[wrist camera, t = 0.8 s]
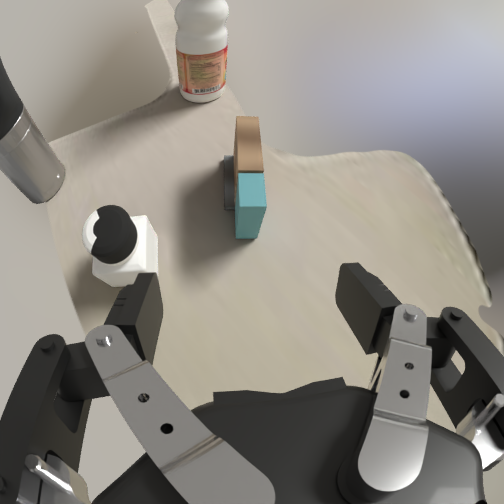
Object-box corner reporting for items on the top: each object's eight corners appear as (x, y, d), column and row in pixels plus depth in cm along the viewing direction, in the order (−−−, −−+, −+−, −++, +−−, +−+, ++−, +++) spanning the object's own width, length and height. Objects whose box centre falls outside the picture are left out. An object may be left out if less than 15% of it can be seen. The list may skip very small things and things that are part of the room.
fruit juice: (171, 93, 49) (159, -26, 23) (202, 74, 52) (203, -36, 26) (203, 110, 48) (201, -24, 22) (234, 88, 51) (246, -31, 25)
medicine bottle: (158, 236, 39) (136, 193, 27) (159, 284, 36) (132, 257, 25) (113, 240, 38) (79, 201, 27) (112, 287, 36) (72, 262, 24)
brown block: (264, 209, 42) (276, 170, 32) (224, 209, 41) (225, 170, 32) (260, 159, 45) (268, 117, 35) (224, 159, 44) (225, 116, 35)
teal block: (256, 238, 40) (266, 206, 31) (235, 238, 39) (239, 206, 30) (255, 210, 41) (263, 173, 32) (234, 210, 41) (238, 173, 32)
